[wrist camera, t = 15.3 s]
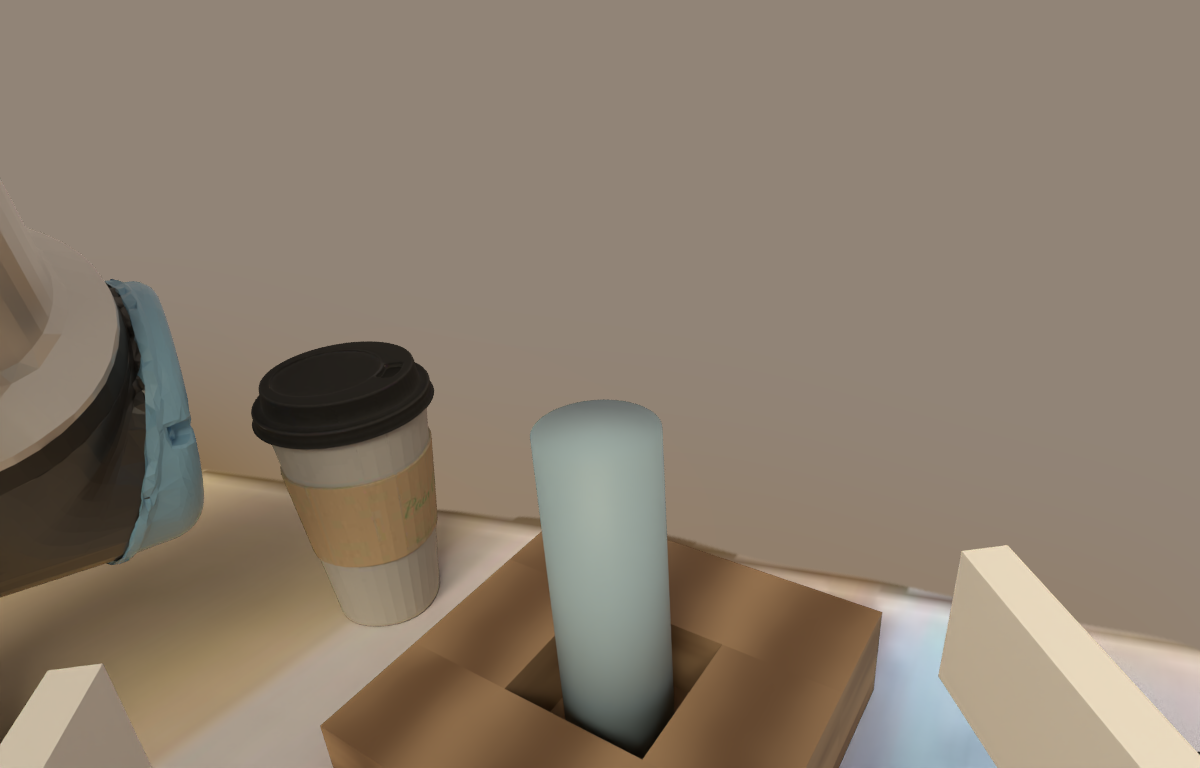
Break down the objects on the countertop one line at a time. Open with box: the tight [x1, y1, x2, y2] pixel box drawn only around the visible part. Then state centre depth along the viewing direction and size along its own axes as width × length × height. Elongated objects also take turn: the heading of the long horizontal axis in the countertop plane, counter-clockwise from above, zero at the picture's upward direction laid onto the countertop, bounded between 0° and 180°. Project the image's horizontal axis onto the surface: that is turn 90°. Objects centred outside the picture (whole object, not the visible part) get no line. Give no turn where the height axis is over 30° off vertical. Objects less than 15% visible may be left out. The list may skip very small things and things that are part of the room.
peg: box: [530, 400, 675, 760], centre depth 34 cm, size 5×5×16 cm
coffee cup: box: [251, 342, 439, 626], centre depth 45 cm, size 9×9×15 cm
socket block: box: [320, 532, 882, 768], centre depth 36 cm, size 18×18×5 cm
